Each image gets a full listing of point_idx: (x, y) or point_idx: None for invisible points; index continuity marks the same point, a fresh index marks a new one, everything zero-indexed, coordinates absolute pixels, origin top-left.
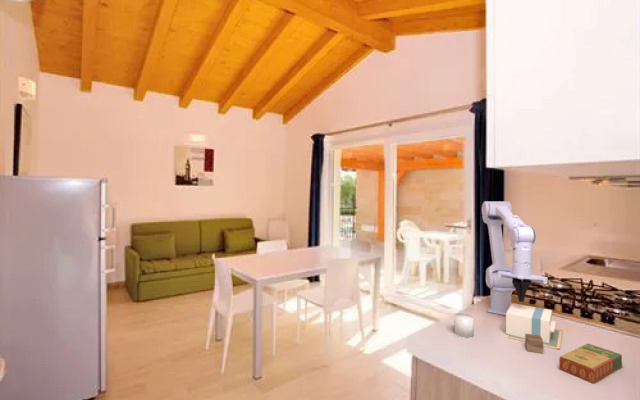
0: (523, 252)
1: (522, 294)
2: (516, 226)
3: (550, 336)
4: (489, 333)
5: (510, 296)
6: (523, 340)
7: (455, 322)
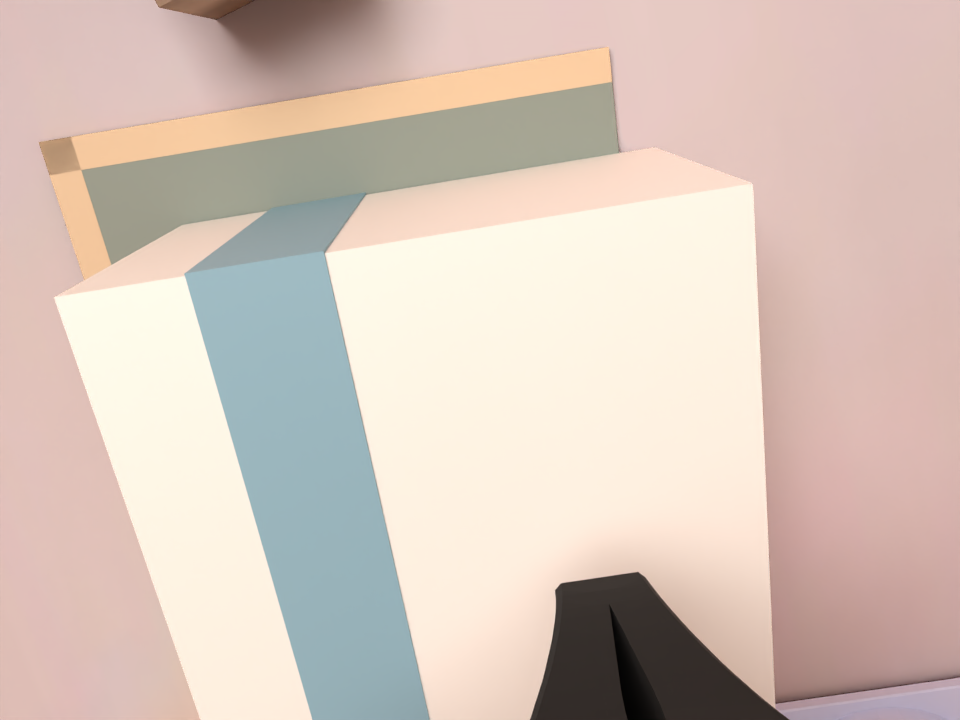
0: None
1: (593, 680)
2: None
3: None
4: (834, 15)
5: None
6: (426, 81)
7: None
